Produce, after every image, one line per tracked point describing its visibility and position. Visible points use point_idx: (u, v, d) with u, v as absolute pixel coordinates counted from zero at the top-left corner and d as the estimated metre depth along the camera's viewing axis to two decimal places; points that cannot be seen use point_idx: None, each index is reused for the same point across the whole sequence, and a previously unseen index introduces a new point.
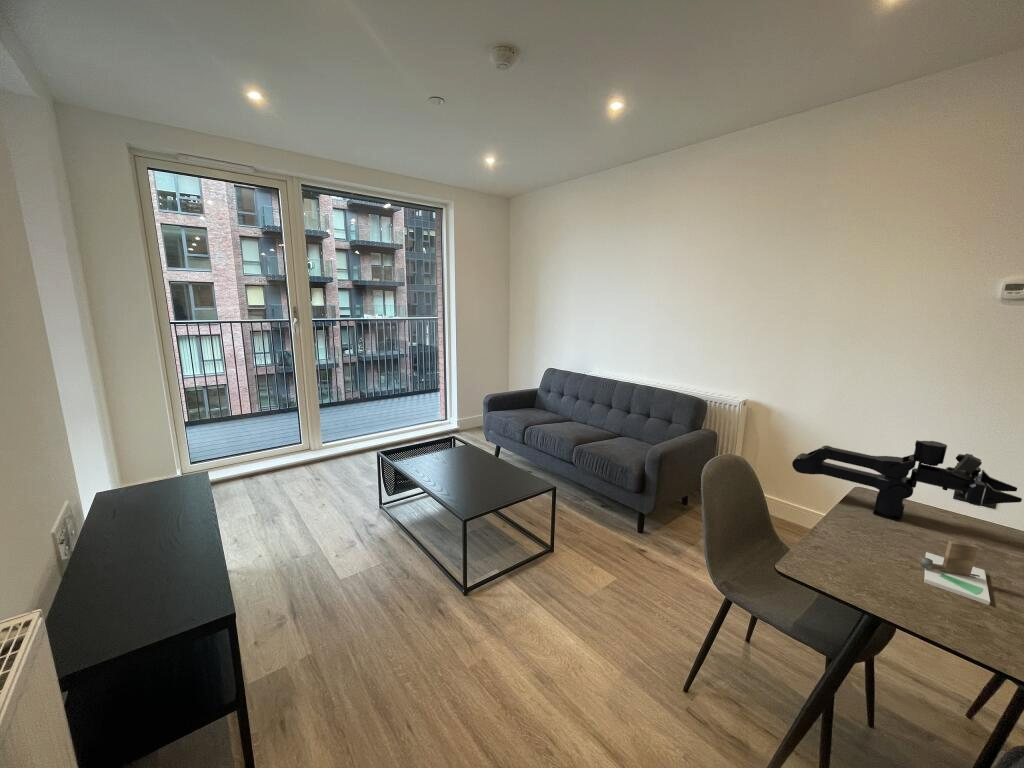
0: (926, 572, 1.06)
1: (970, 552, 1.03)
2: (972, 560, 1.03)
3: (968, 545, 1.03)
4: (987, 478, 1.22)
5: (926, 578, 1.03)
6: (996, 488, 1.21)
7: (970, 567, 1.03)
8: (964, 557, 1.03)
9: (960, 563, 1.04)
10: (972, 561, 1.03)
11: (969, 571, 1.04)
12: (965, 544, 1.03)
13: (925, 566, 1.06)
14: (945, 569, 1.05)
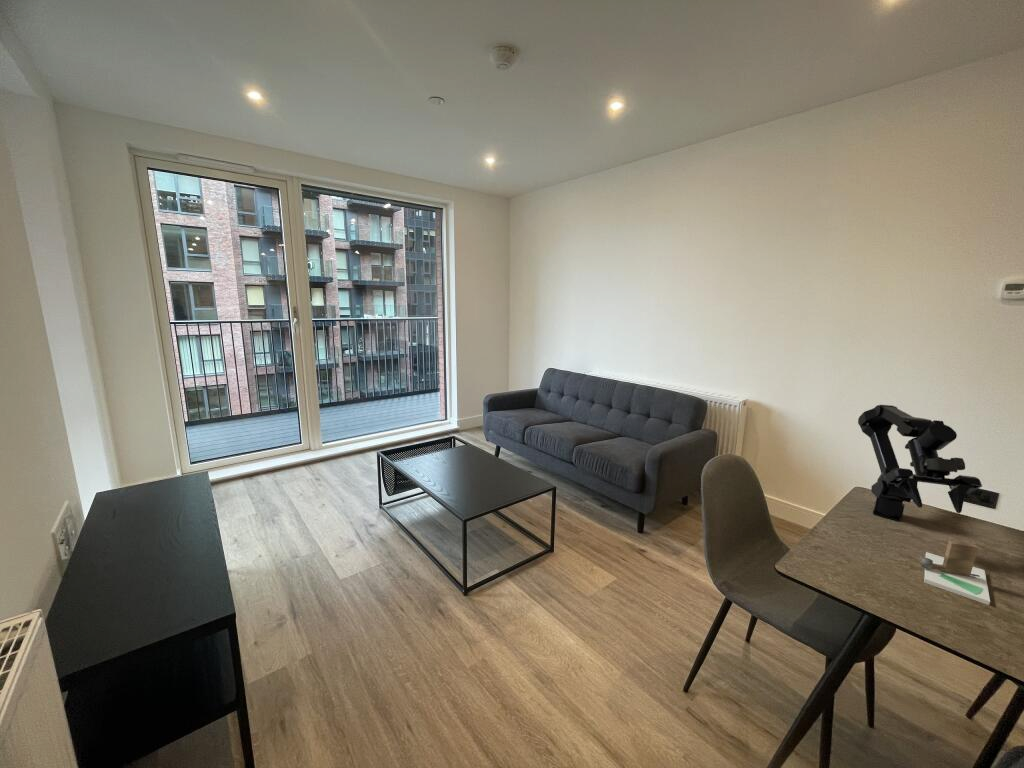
0: (926, 572, 1.06)
1: (970, 552, 1.03)
2: (972, 560, 1.03)
3: (968, 545, 1.03)
4: (957, 490, 1.12)
5: (926, 578, 1.03)
6: (953, 500, 1.13)
7: (970, 567, 1.03)
8: (964, 557, 1.03)
9: (960, 563, 1.04)
10: (972, 561, 1.03)
11: (969, 571, 1.04)
12: (965, 544, 1.03)
13: (925, 566, 1.06)
14: (945, 569, 1.05)
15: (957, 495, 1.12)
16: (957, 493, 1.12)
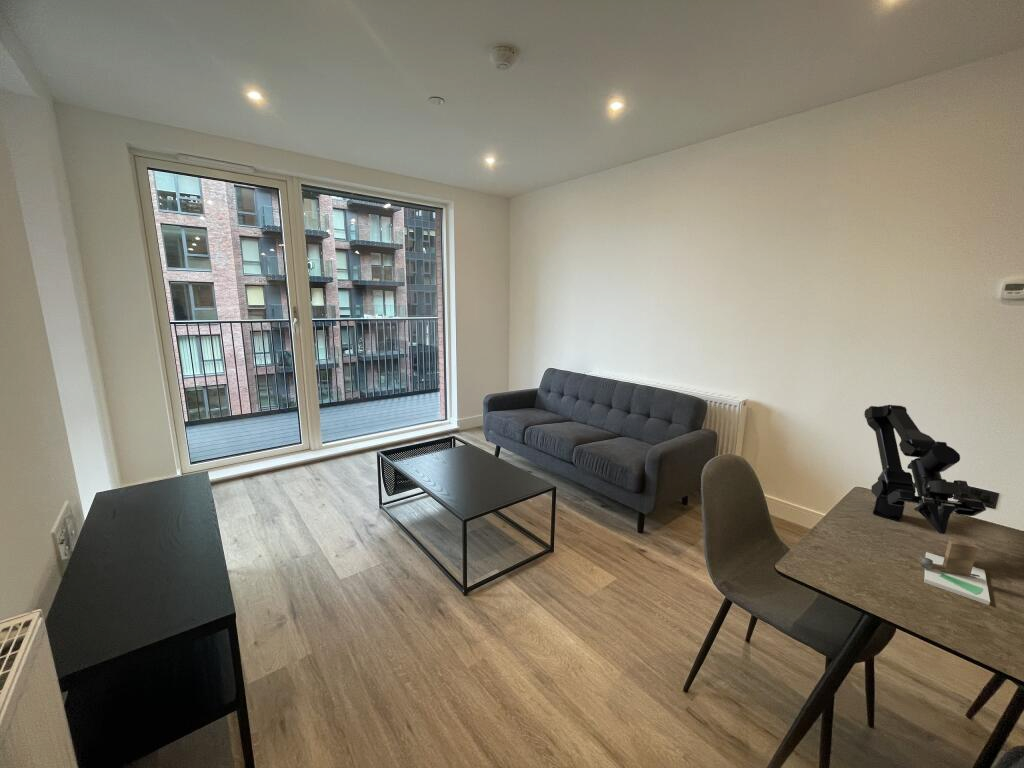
0: (926, 572, 1.06)
1: (970, 552, 1.03)
2: (972, 560, 1.03)
3: (968, 545, 1.03)
4: (942, 511, 1.11)
5: (926, 578, 1.03)
6: None
7: (970, 567, 1.03)
8: (964, 557, 1.03)
9: (960, 563, 1.04)
10: (972, 561, 1.03)
11: (969, 571, 1.04)
12: (965, 544, 1.03)
13: (925, 566, 1.06)
14: (945, 569, 1.05)
15: (942, 516, 1.11)
16: (942, 514, 1.11)
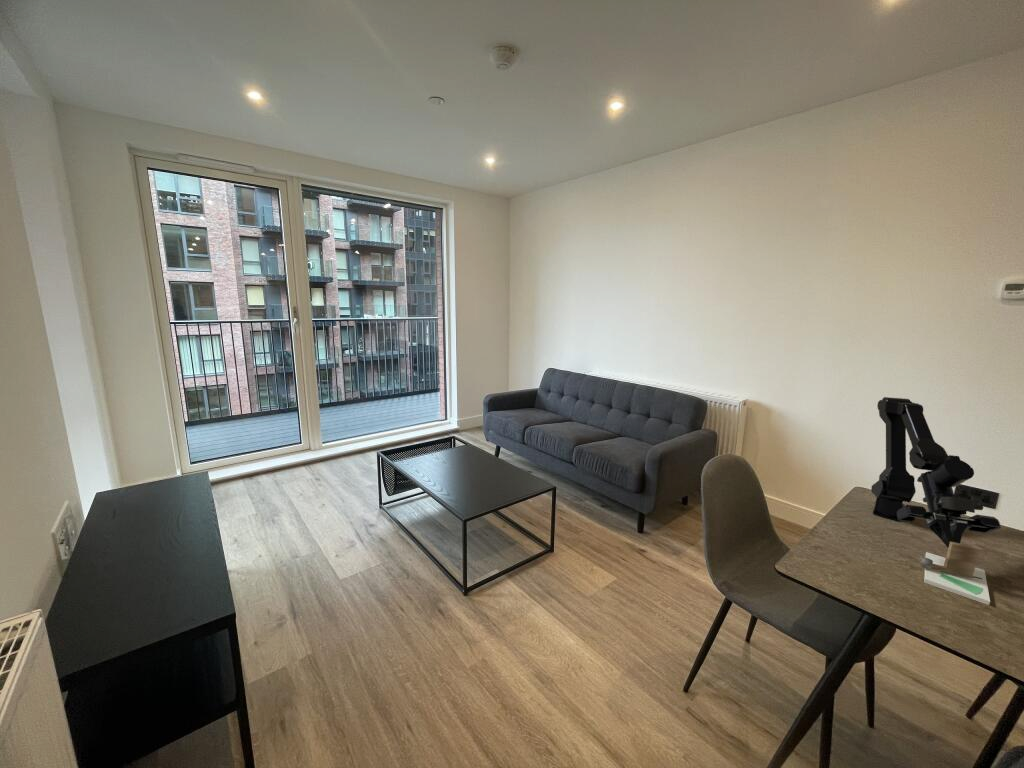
0: (926, 572, 1.06)
1: (972, 554, 1.02)
2: (974, 562, 1.02)
3: (970, 547, 1.02)
4: (954, 528, 1.06)
5: (926, 578, 1.03)
6: None
7: (972, 569, 1.03)
8: (965, 559, 1.03)
9: (961, 565, 1.03)
10: (974, 563, 1.02)
11: (970, 574, 1.03)
12: (966, 546, 1.03)
13: (924, 566, 1.07)
14: (946, 570, 1.05)
15: (954, 533, 1.06)
16: (954, 531, 1.06)
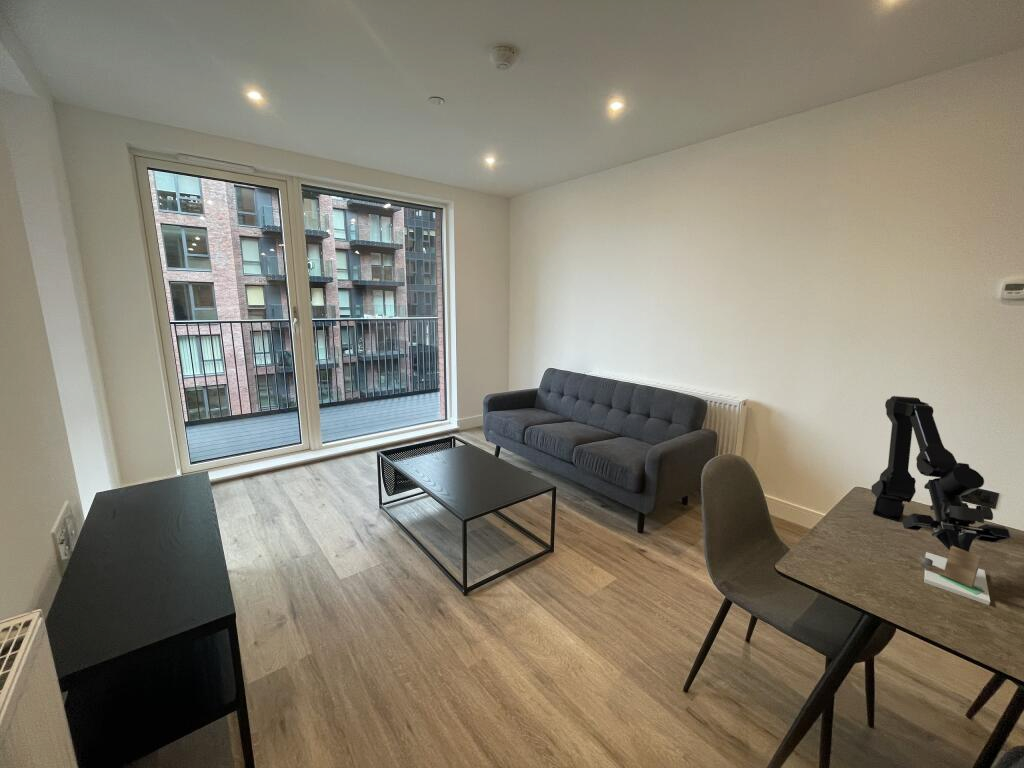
0: (926, 572, 1.06)
1: (970, 562, 0.99)
2: (973, 571, 0.99)
3: (970, 554, 0.99)
4: (963, 538, 1.03)
5: (926, 578, 1.03)
6: None
7: (971, 578, 0.99)
8: (964, 565, 1.00)
9: (960, 571, 1.01)
10: (973, 571, 0.99)
11: (969, 583, 1.00)
12: (966, 552, 1.00)
13: (922, 564, 1.07)
14: (944, 573, 1.04)
15: (962, 543, 1.03)
16: (962, 541, 1.03)
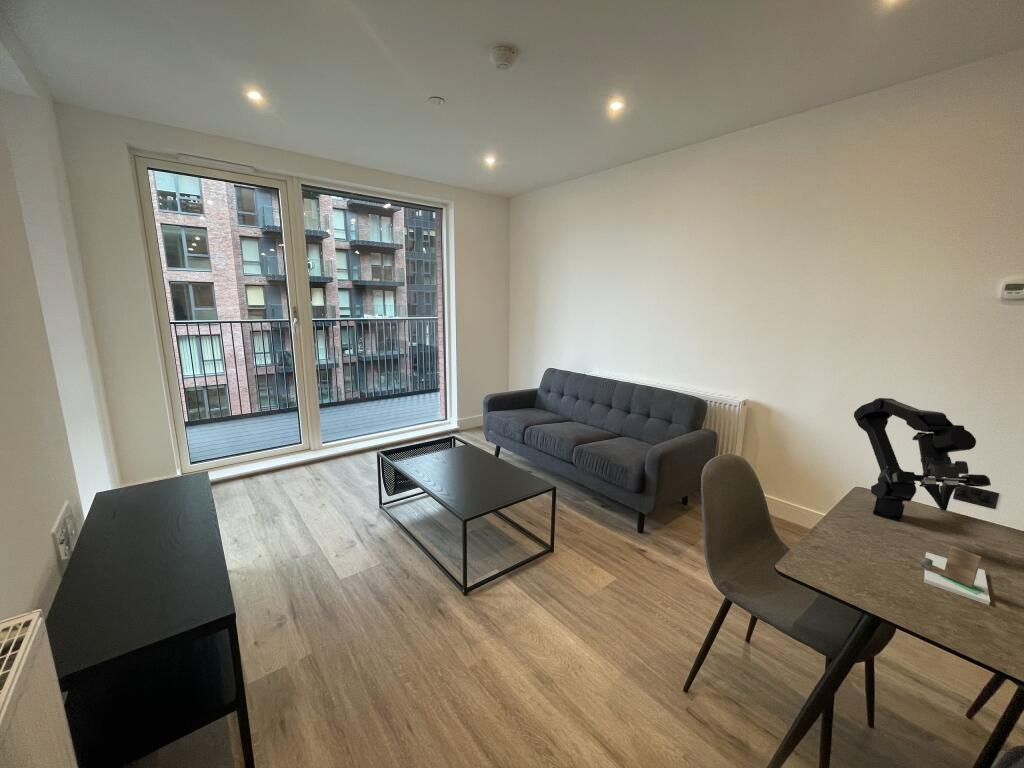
0: (926, 572, 1.06)
1: (970, 562, 0.99)
2: (973, 571, 0.99)
3: (970, 554, 0.99)
4: (944, 489, 1.15)
5: (926, 578, 1.03)
6: (941, 497, 1.16)
7: (971, 578, 0.99)
8: (964, 565, 1.00)
9: (960, 571, 1.01)
10: (973, 571, 0.99)
11: (969, 583, 1.00)
12: (966, 552, 1.00)
13: (922, 564, 1.07)
14: (944, 573, 1.04)
15: (944, 493, 1.15)
16: (944, 491, 1.15)
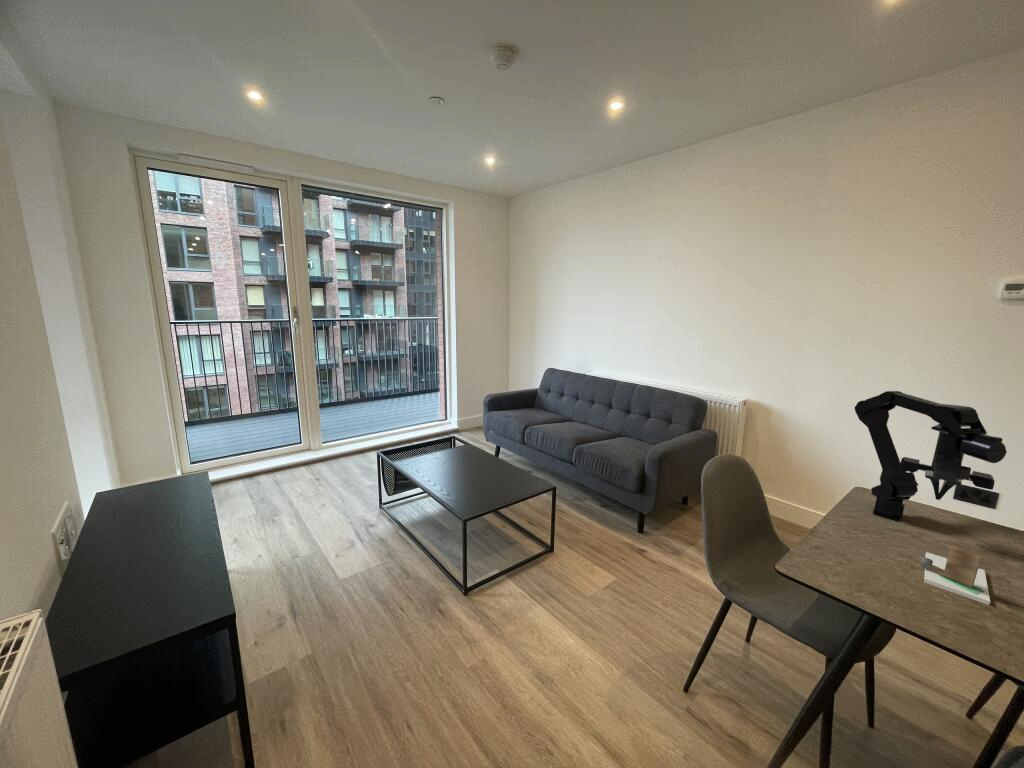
0: (926, 572, 1.06)
1: (970, 562, 0.99)
2: (973, 571, 0.99)
3: (970, 554, 0.99)
4: (945, 483, 1.19)
5: (926, 578, 1.03)
6: (941, 487, 1.21)
7: (971, 578, 0.99)
8: (964, 565, 1.00)
9: (960, 571, 1.01)
10: (973, 571, 0.99)
11: (969, 583, 1.00)
12: (966, 552, 1.00)
13: (922, 564, 1.07)
14: (944, 573, 1.04)
15: (943, 486, 1.19)
16: (944, 485, 1.19)
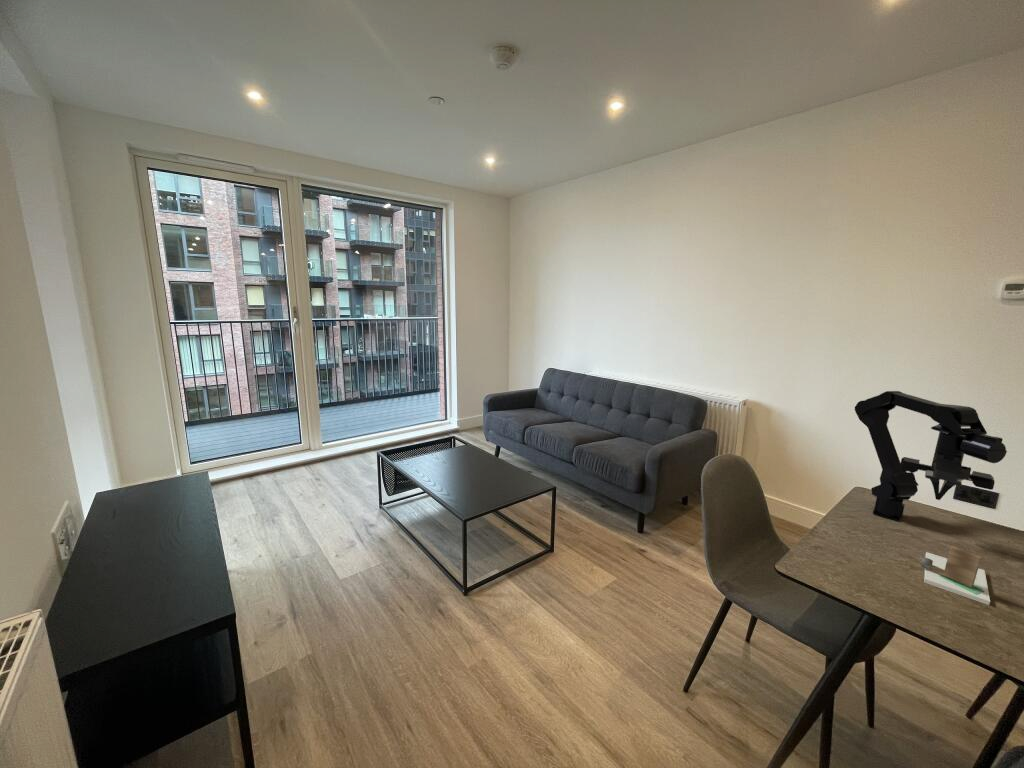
0: (926, 572, 1.06)
1: (970, 562, 0.99)
2: (973, 571, 0.99)
3: (970, 554, 0.99)
4: (945, 483, 1.19)
5: (926, 578, 1.03)
6: (941, 487, 1.21)
7: (971, 578, 0.99)
8: (964, 565, 1.00)
9: (960, 571, 1.01)
10: (973, 571, 0.99)
11: (969, 583, 1.00)
12: (966, 552, 1.00)
13: (922, 564, 1.07)
14: (944, 573, 1.04)
15: (943, 486, 1.19)
16: (944, 485, 1.19)
